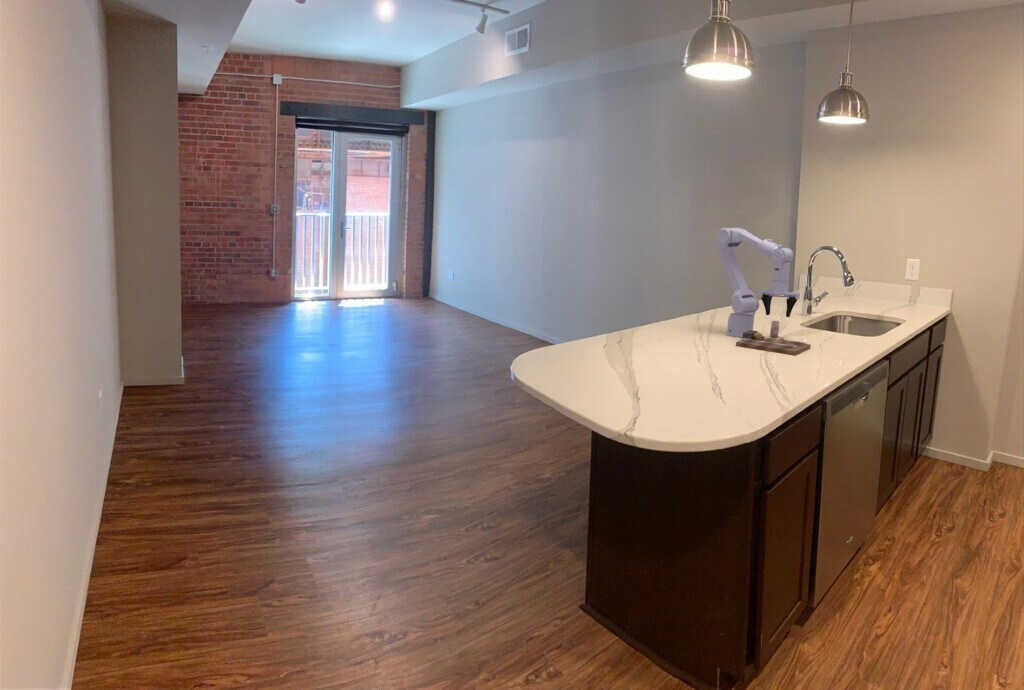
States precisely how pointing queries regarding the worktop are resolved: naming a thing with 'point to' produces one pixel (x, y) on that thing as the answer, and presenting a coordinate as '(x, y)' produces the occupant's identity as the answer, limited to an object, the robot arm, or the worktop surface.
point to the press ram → (774, 334)
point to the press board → (771, 344)
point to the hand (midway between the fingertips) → (777, 315)
